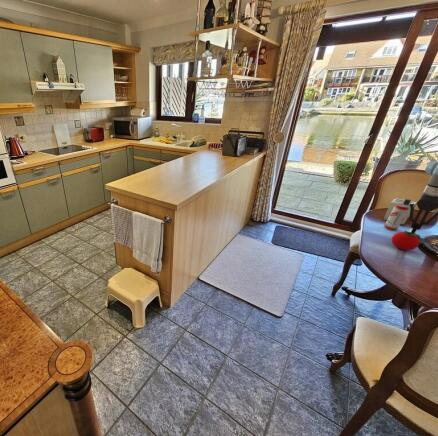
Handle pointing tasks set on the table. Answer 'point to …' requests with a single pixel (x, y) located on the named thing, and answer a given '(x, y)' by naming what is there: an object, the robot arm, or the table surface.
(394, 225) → the beer can
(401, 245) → the tomato
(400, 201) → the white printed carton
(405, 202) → the slider
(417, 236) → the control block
